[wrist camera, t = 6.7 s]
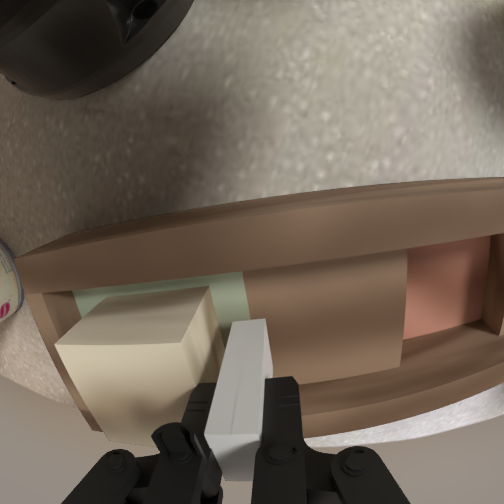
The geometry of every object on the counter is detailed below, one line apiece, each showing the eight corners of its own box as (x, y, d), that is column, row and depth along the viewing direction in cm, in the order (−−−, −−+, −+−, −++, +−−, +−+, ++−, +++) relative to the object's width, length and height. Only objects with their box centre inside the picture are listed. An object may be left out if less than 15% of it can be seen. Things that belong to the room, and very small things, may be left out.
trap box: (69, 234, 17) (13, 259, 12) (551, 176, 14) (598, 186, 8) (121, 382, 20) (92, 430, 15) (537, 314, 17) (572, 342, 11)
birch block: (105, 297, 15) (54, 344, 10) (209, 285, 14) (180, 342, 10) (140, 383, 17) (109, 440, 12) (233, 381, 16) (221, 450, 11)
